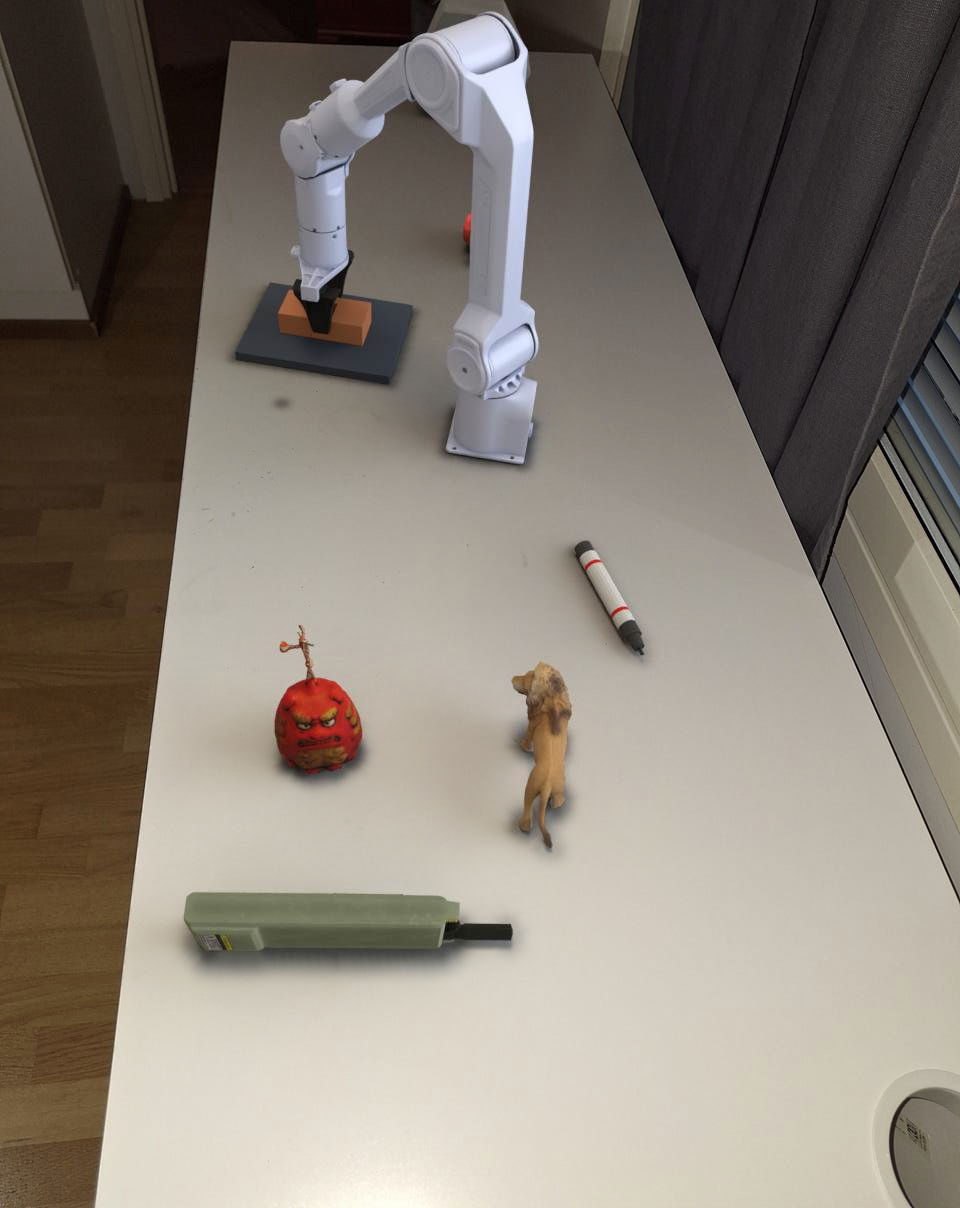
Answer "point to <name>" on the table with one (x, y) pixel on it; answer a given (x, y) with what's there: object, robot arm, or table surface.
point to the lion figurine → (544, 740)
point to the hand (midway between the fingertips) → (326, 318)
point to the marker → (610, 595)
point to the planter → (469, 15)
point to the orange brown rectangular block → (345, 326)
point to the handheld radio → (329, 921)
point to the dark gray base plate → (327, 341)
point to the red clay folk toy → (316, 721)
